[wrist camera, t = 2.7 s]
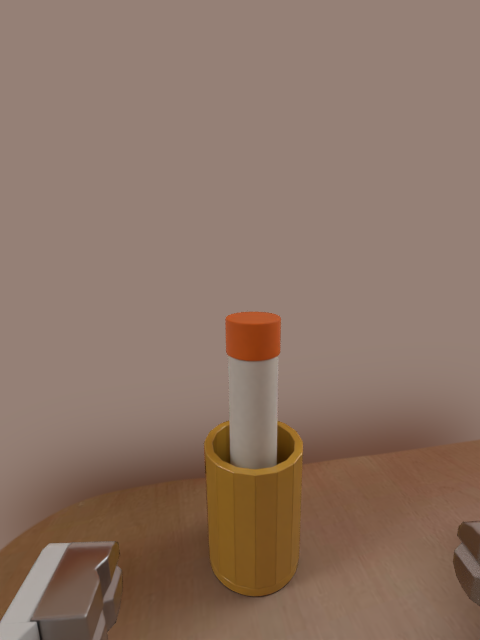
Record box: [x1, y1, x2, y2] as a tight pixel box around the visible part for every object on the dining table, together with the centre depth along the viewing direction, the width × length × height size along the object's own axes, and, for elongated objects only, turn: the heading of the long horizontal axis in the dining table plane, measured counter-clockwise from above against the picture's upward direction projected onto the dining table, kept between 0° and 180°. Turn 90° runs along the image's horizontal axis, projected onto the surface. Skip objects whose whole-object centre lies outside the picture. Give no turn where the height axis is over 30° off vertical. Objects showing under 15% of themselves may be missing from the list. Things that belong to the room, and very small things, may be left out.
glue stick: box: [225, 312, 281, 469], centre depth 20 cm, size 3×3×15 cm
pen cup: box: [204, 421, 303, 596], centre depth 21 cm, size 6×6×8 cm
